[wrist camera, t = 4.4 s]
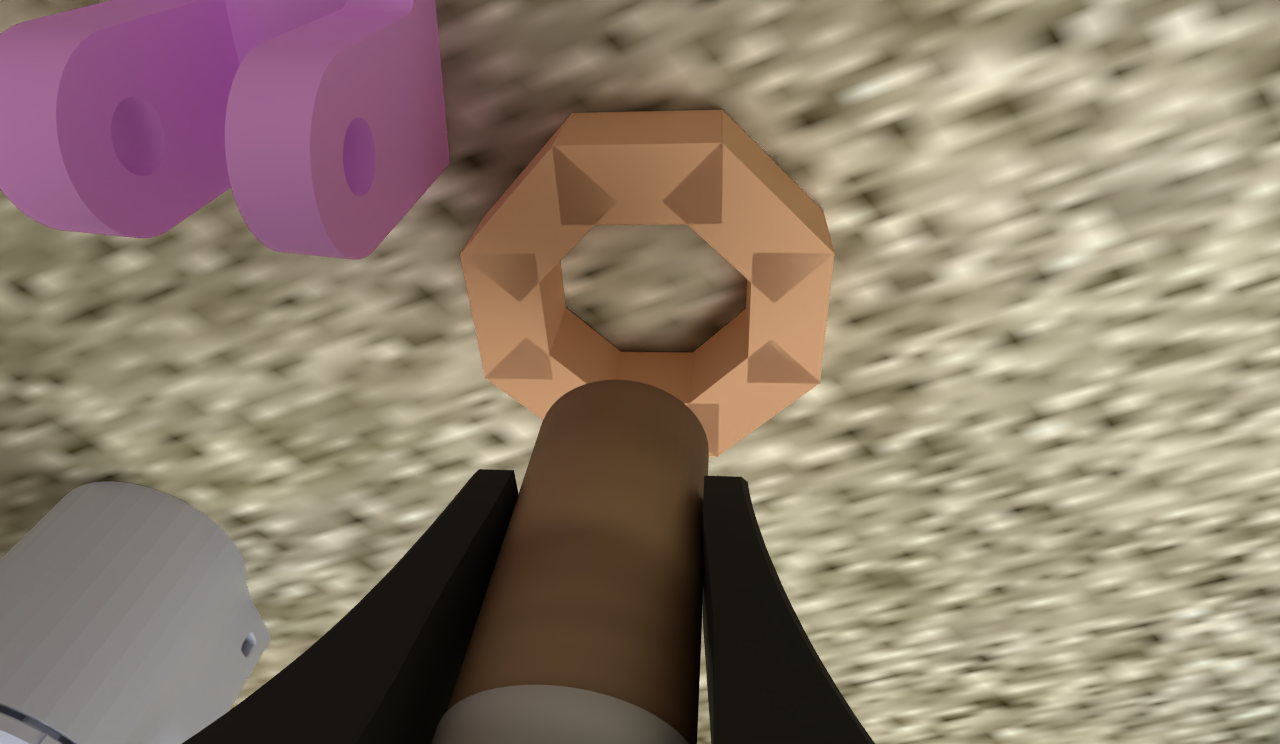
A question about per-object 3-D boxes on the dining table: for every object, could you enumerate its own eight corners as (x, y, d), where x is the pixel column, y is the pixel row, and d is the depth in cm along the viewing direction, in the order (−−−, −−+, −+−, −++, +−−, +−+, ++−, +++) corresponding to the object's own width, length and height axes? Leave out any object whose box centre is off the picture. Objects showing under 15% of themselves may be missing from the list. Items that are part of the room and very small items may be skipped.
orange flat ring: (803, 404, 22) (811, 459, 20) (519, 399, 23) (499, 451, 21) (833, 106, 17) (847, 140, 15) (468, 114, 18) (437, 147, 16)
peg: (710, 513, 15) (697, 931, 9) (548, 507, 15) (437, 905, 9) (711, 378, 13) (694, 800, 7) (526, 375, 13) (370, 773, 8)
